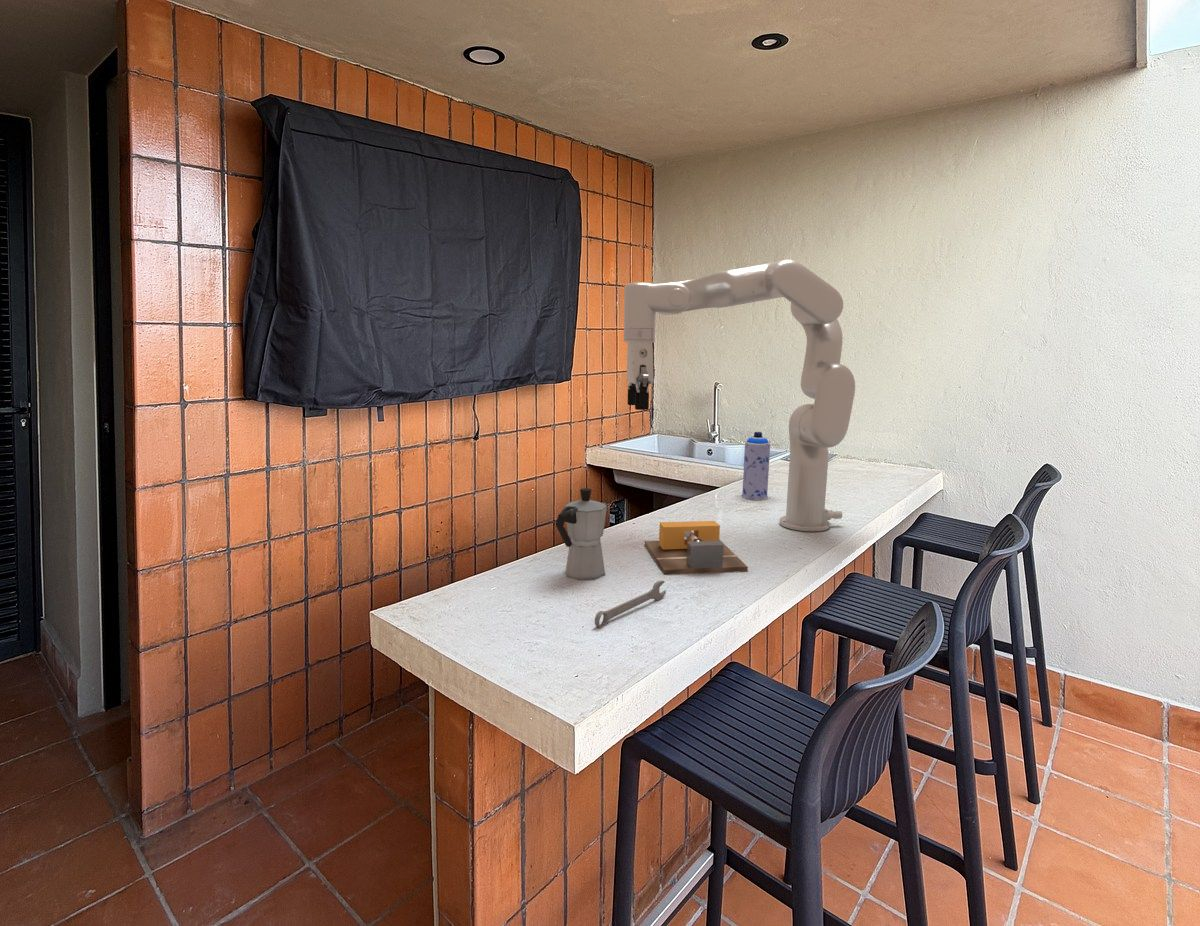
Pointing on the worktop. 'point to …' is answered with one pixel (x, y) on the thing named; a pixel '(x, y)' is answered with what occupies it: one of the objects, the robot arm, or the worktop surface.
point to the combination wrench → (630, 604)
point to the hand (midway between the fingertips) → (637, 407)
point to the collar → (675, 533)
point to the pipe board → (676, 559)
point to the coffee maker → (583, 536)
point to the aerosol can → (756, 468)
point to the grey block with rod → (703, 552)
